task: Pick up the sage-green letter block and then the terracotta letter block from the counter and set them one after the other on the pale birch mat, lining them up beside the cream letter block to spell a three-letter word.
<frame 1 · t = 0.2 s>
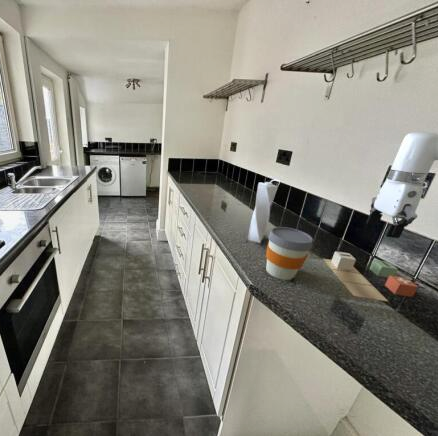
hand: (381, 230, 74), 18 cm above the table, tool pointing down, fingers open, 9 cm apart
twisted white column: (255, 240, 105), on the table
letter c: (397, 292, 74), on the table
word mat: (350, 279, 80), on the table
reusable coffee cup: (279, 272, 82), on the table
letter b: (380, 275, 82), on the table
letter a: (340, 266, 86), point 1 cm above the table, touching word mat
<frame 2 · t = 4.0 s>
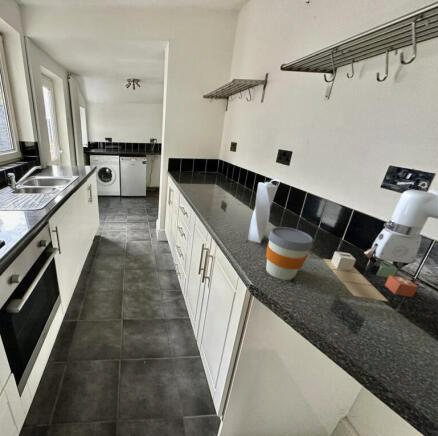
hand: (380, 274, 82), 0 cm above the table, tool pointing down, fingers closed on letter b, 4 cm apart
letter b: (380, 275, 82), on the table, touching gripper
everything else where it was.
when the fingers open (1 cm above the table, at t = 10.0 s): letter b stays where it is, resting on word mat.
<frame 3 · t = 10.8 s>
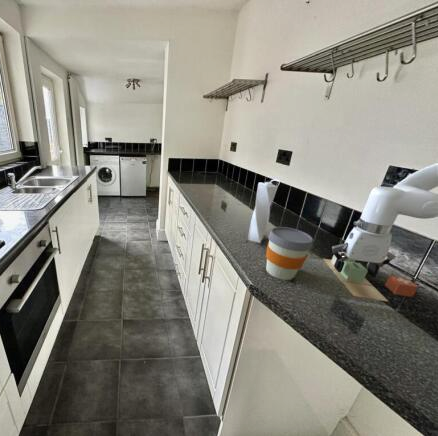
hand: (353, 272, 79), 3 cm above the table, tool pointing down, fingers open, 9 cm apart
letter b: (350, 277, 79), point 1 cm above the table, touching word mat
everything else where it was.
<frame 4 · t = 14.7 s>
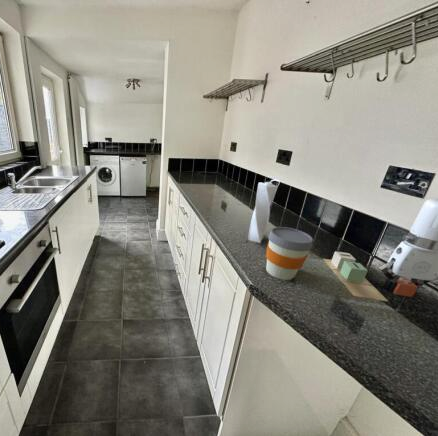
hand: (397, 291, 73), 0 cm above the table, tool pointing down, fingers closed on letter c, 4 cm apart
letter c: (397, 292, 74), on the table, touching gripper
everything else where it was.
when the fingers open (1 cm above the table, at t = 20.5 s): letter c stays where it is, resting on word mat.
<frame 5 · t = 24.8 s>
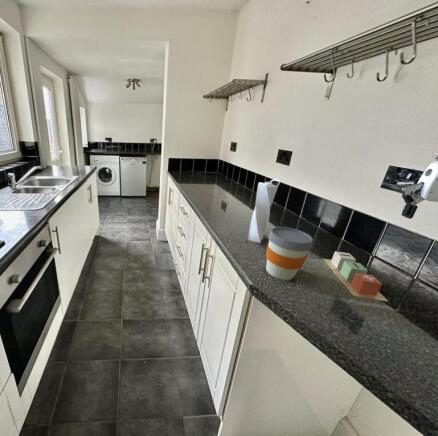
hand: (426, 219, 67), 24 cm above the table, tool pointing down, fingers open, 9 cm apart
letter c: (362, 290, 73), point 1 cm above the table, touching word mat
everything else where it was.
at the end: letter b 0.1 cm off-centre on the word mat, point 0.8 cm above the word mat's base; letter c 0.1 cm from the target spot on the word mat, point 0.8 cm above the word mat's base; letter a moved 0.0 cm from its start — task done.
